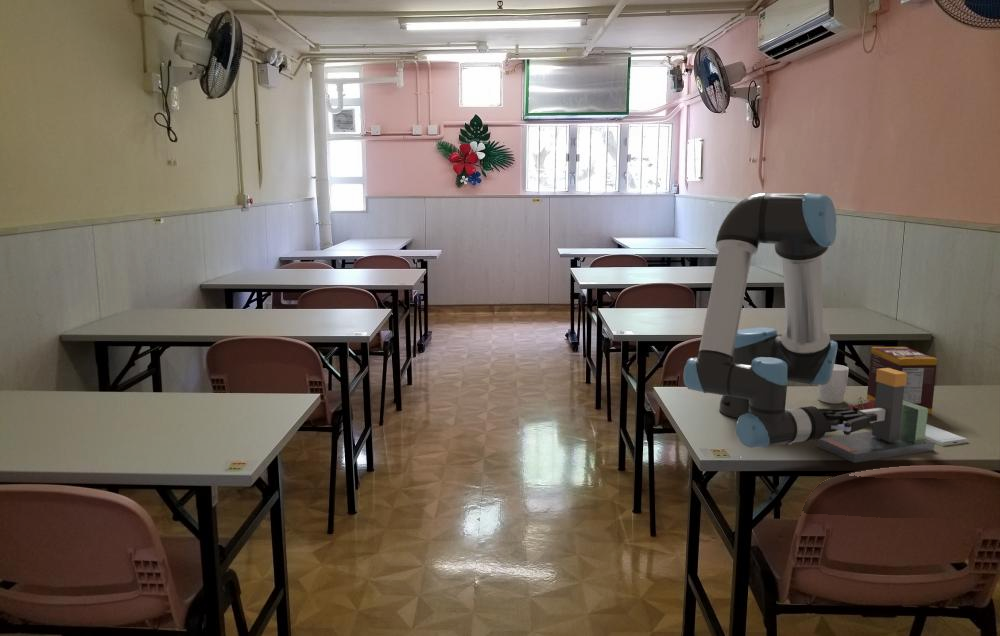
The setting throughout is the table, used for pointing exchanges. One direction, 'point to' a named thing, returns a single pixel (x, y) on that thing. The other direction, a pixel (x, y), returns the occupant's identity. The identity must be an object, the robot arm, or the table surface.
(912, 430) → the grey base stand
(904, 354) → the supplement box
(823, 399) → the white cup
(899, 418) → the lever
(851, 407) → the geometric puzzle
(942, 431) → the hard drive
